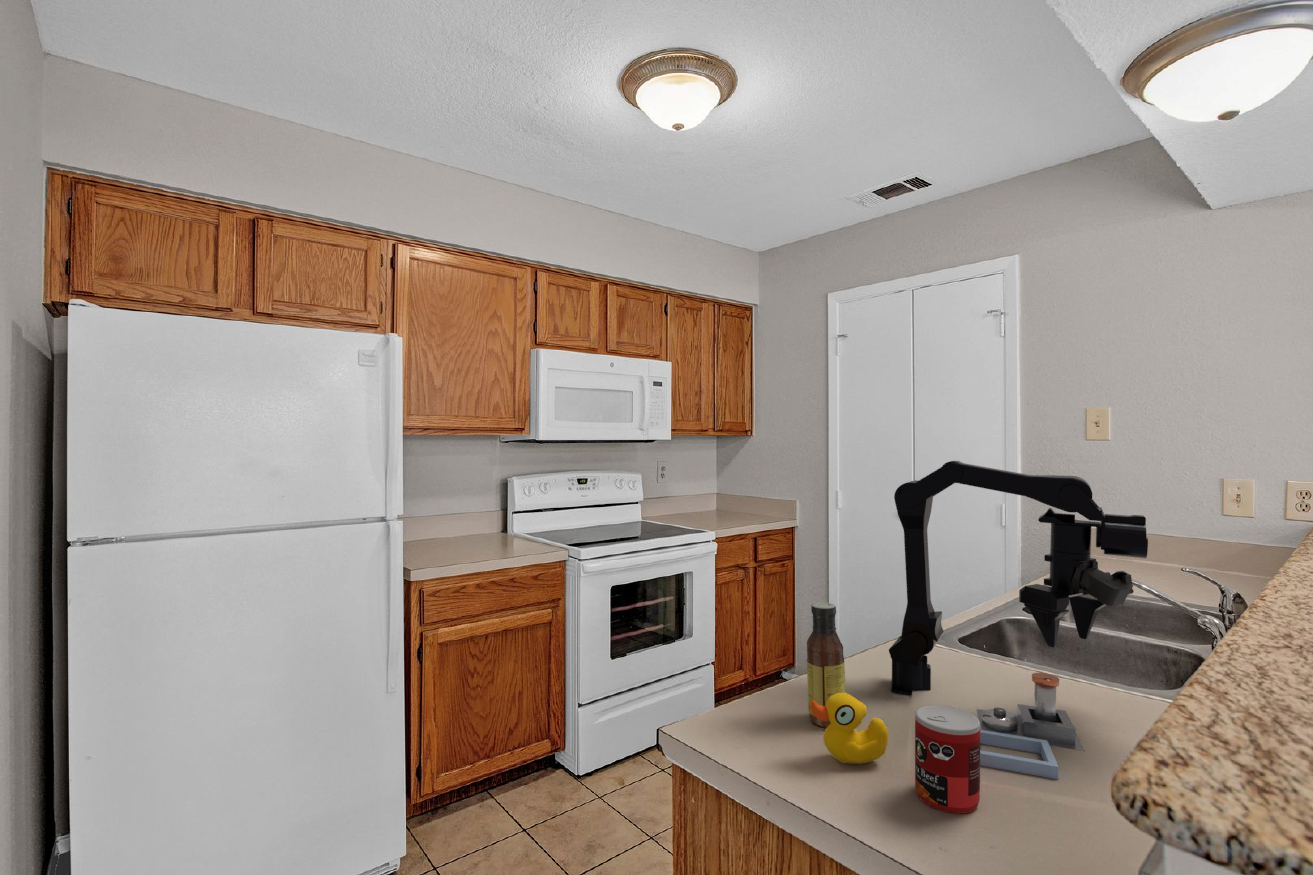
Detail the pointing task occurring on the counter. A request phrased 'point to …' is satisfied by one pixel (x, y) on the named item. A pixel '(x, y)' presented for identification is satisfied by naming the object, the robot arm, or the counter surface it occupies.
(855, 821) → the counter surface
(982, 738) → the tray
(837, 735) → the duckling
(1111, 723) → the counter surface
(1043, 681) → the lock pin
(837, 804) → the counter surface
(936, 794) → the canned food
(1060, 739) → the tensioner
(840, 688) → the sauce bottle
